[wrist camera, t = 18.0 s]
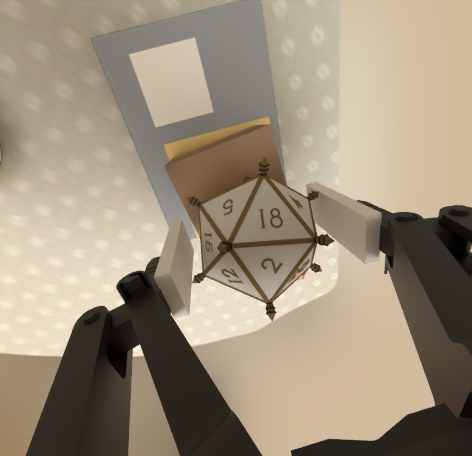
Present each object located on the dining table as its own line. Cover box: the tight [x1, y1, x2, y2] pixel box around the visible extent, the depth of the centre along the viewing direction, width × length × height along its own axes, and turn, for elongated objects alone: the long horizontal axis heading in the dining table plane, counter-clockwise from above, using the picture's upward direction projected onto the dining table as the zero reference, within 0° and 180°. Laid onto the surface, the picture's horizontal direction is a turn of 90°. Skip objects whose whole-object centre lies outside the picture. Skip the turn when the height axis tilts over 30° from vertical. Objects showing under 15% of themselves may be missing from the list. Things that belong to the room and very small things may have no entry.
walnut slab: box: [165, 124, 287, 237], centre depth 24 cm, size 10×10×6 cm
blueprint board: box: [90, 0, 286, 239], centre depth 25 cm, size 22×16×2 cm
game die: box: [186, 157, 334, 321], centre depth 14 cm, size 9×8×10 cm
